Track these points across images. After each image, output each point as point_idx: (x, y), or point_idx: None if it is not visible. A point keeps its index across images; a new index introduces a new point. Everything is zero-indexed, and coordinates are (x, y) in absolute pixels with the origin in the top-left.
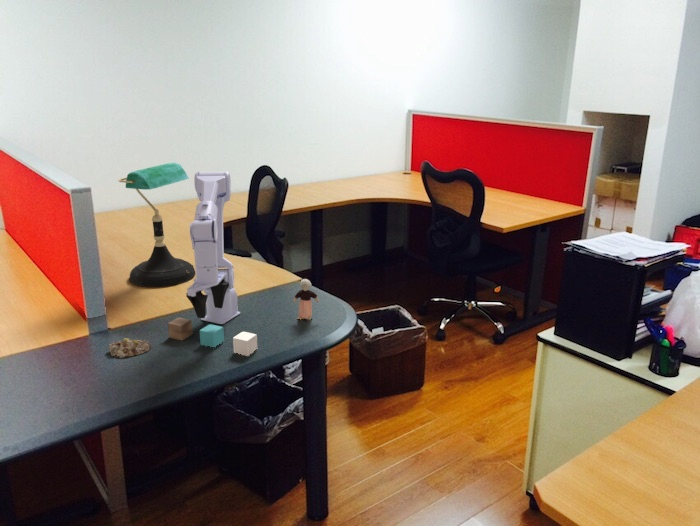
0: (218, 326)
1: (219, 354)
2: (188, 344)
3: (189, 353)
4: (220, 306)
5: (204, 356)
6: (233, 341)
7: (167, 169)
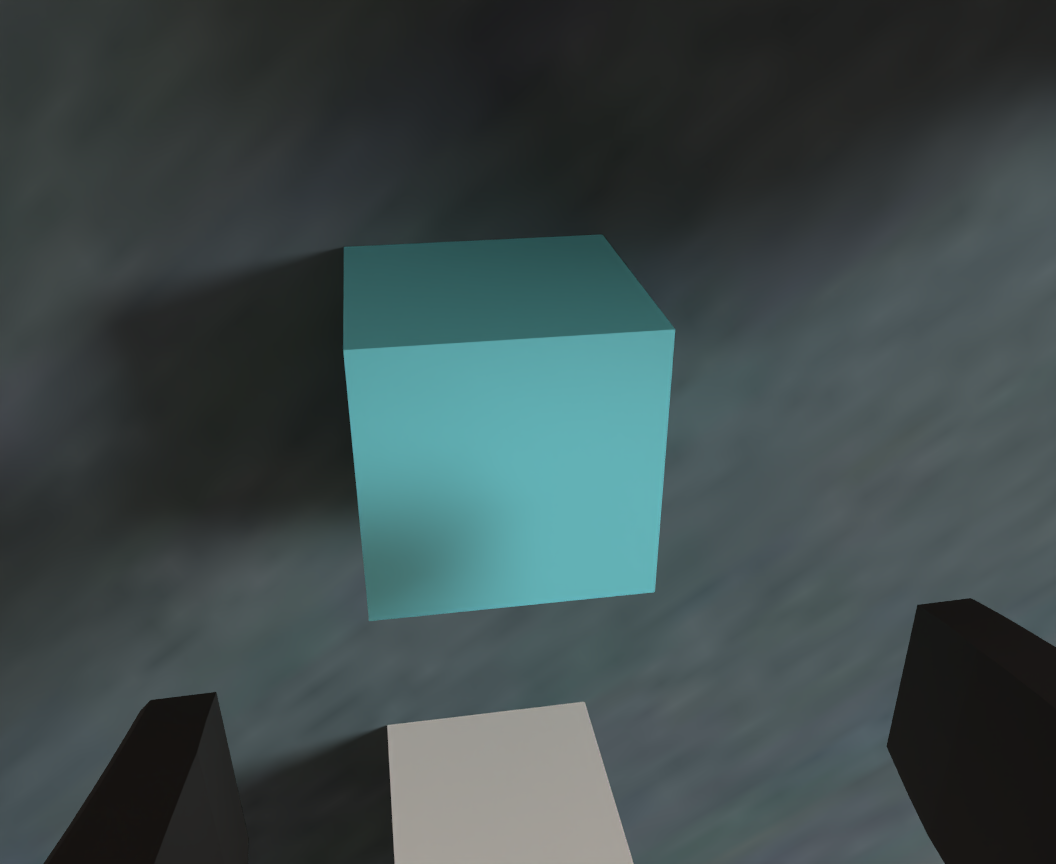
0: (645, 518)
1: (261, 635)
2: (247, 45)
3: (19, 297)
4: (914, 780)
5: (98, 532)
6: (394, 856)
7: None
